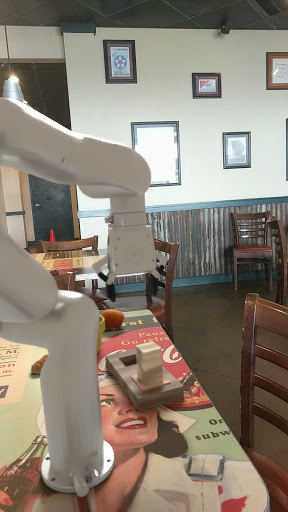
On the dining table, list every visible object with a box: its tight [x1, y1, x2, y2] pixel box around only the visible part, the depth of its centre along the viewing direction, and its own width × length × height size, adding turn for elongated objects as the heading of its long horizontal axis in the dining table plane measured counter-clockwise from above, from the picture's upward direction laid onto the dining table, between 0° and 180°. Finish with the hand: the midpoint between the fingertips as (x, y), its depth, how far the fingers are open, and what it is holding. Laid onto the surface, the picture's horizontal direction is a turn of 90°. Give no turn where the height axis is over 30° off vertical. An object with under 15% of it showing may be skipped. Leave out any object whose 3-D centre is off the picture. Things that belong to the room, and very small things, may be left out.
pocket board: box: [104, 348, 185, 412], centre depth 94 cm, size 24×11×3 cm, turn 23°
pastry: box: [30, 354, 48, 375], centre depth 104 cm, size 9×7×4 cm
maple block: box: [135, 341, 164, 386], centre depth 87 cm, size 4×4×8 cm
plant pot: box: [97, 314, 106, 354], centre depth 113 cm, size 10×10×10 cm
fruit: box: [100, 308, 125, 333], centre depth 130 cm, size 8×8×8 cm
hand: (133, 297), depth 84 cm, fingers open, 9 cm apart
